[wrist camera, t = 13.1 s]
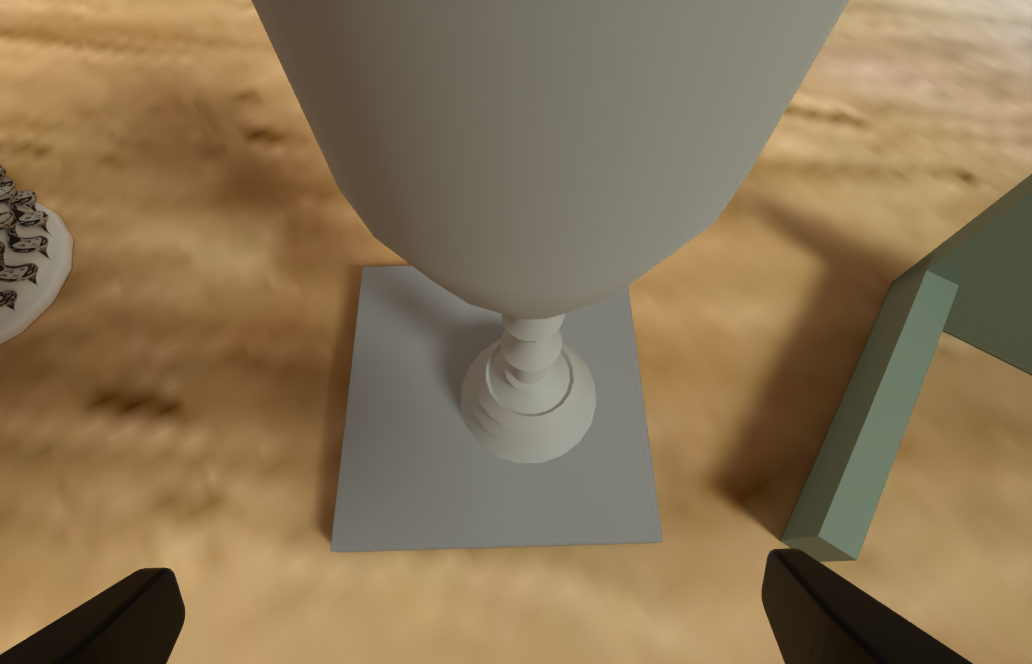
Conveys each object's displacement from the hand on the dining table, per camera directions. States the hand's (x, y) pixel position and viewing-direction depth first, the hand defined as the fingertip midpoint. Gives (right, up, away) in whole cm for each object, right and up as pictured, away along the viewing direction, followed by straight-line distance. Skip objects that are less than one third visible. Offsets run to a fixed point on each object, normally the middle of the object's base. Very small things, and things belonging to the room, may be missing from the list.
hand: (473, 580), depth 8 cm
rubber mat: (0, +1, +13) cm, 13 cm away
